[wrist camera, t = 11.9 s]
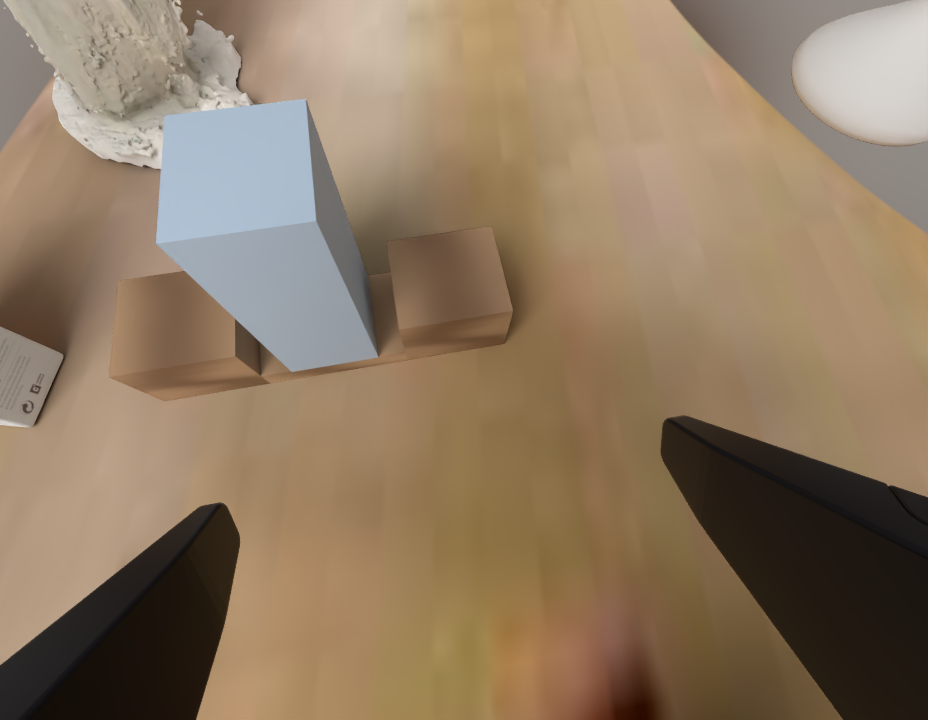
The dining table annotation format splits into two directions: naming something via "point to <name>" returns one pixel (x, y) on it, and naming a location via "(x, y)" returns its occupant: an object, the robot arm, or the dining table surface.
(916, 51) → the flower in vase
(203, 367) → the slotted plank
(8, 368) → the skincare box
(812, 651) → the robot arm
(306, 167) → the blue block
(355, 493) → the dining table surface
